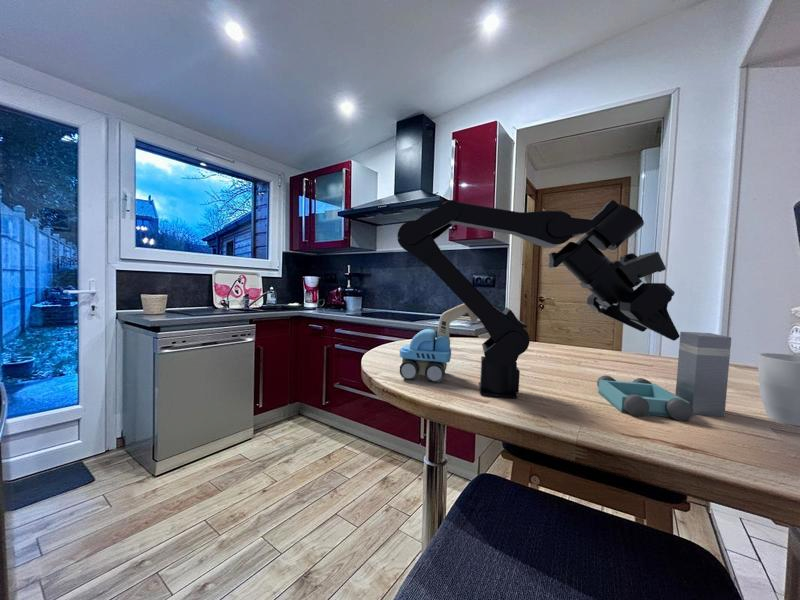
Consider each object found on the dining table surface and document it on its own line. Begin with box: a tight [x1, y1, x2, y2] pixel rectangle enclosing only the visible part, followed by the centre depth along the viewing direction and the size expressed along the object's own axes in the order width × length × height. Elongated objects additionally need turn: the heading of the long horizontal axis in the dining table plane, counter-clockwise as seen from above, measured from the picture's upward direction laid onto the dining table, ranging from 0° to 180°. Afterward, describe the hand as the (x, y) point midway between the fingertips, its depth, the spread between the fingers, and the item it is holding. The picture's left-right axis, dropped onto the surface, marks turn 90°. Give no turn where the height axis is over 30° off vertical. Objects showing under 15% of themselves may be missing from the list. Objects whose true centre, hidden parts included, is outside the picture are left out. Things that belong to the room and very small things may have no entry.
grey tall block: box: [675, 331, 732, 418], centre depth 54 cm, size 4×4×13 cm
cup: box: [757, 352, 800, 427], centre depth 51 cm, size 8×8×10 cm
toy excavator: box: [399, 303, 479, 384], centre depth 69 cm, size 9×17×17 cm, turn 78°
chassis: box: [596, 374, 694, 422], centre depth 56 cm, size 10×12×3 cm
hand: (659, 334), depth 55 cm, fingers open, 9 cm apart
